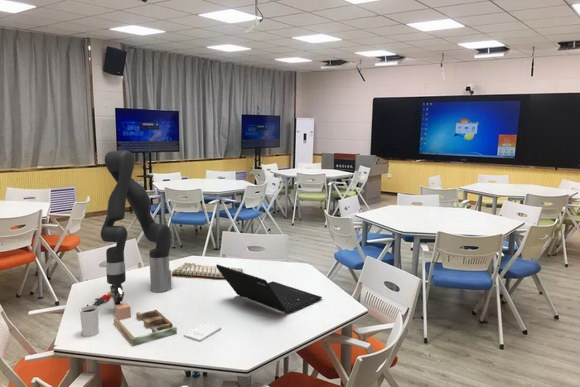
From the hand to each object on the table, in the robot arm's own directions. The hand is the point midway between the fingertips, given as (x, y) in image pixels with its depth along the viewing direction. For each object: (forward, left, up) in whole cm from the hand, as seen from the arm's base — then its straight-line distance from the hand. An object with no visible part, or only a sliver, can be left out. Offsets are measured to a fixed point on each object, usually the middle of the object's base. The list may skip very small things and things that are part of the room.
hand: (117, 309), depth 191 cm
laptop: (-60, +30, -2) cm, 67 cm away
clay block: (0, +6, -1) cm, 7 cm away
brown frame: (-4, +23, -1) cm, 23 cm away
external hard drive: (-21, +40, -2) cm, 45 cm away
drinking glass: (+15, +14, -1) cm, 20 cm away
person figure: (+2, -16, -2) cm, 16 cm away
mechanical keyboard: (-56, -24, -2) cm, 61 cm away
